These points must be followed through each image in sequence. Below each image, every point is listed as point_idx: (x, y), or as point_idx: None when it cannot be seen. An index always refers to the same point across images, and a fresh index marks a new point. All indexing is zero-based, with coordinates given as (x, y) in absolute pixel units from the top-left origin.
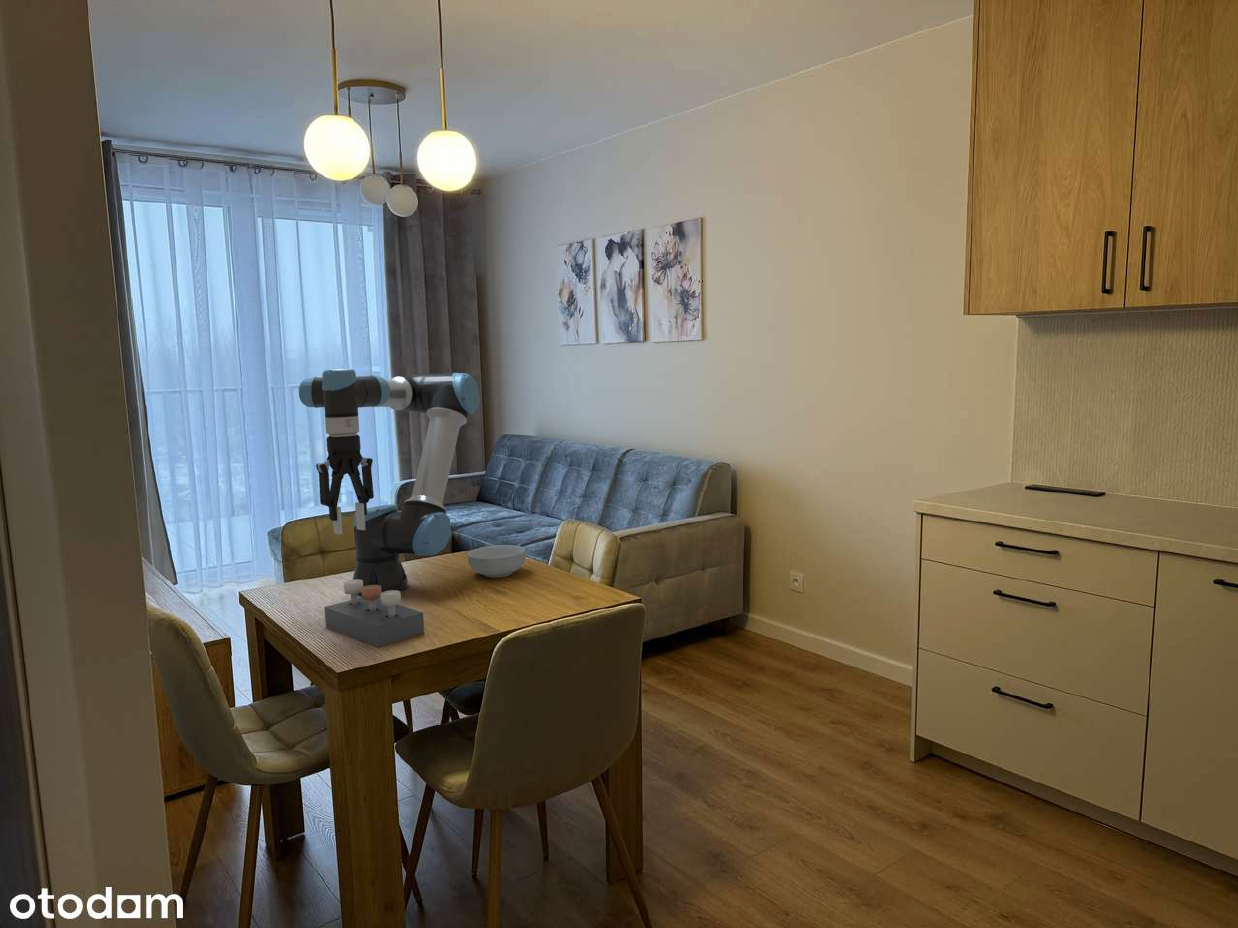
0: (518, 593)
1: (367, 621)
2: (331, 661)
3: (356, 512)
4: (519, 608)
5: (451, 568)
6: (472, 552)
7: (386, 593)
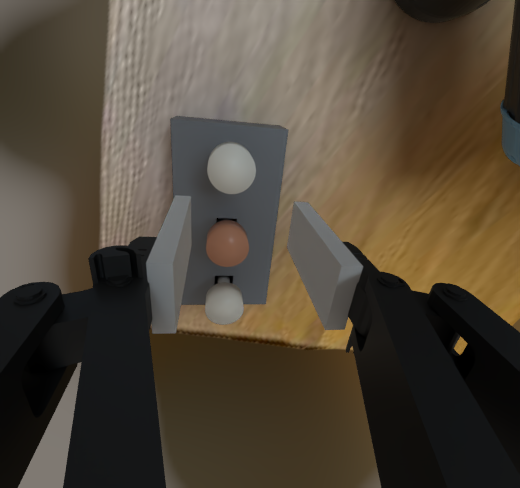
0: (475, 248)
1: None
2: None
3: (316, 244)
4: None
5: None
6: None
7: (217, 307)
